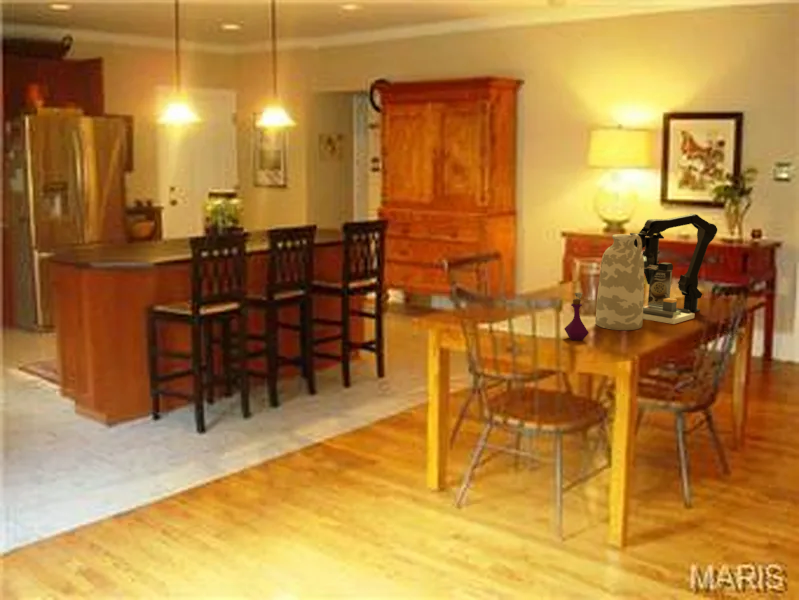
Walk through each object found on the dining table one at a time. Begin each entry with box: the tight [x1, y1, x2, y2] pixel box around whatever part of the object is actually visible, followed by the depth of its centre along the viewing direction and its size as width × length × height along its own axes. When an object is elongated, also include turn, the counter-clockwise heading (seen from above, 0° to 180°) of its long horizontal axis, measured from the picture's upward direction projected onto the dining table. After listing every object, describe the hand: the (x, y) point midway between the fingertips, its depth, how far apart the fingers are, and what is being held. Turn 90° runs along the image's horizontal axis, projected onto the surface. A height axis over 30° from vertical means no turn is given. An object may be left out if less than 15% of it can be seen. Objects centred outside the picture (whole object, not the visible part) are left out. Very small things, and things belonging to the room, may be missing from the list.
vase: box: [595, 233, 645, 331], centre depth 367 cm, size 20×19×38 cm
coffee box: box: [647, 270, 673, 306], centre depth 417 cm, size 9×6×16 cm
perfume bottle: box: [563, 292, 589, 341], centre depth 345 cm, size 8×8×18 cm
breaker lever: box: [663, 297, 678, 312], centre depth 386 cm, size 4×4×6 cm
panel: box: [643, 304, 696, 325], centre depth 390 cm, size 18×22×4 cm
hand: (649, 284), depth 400 cm, fingers closed
